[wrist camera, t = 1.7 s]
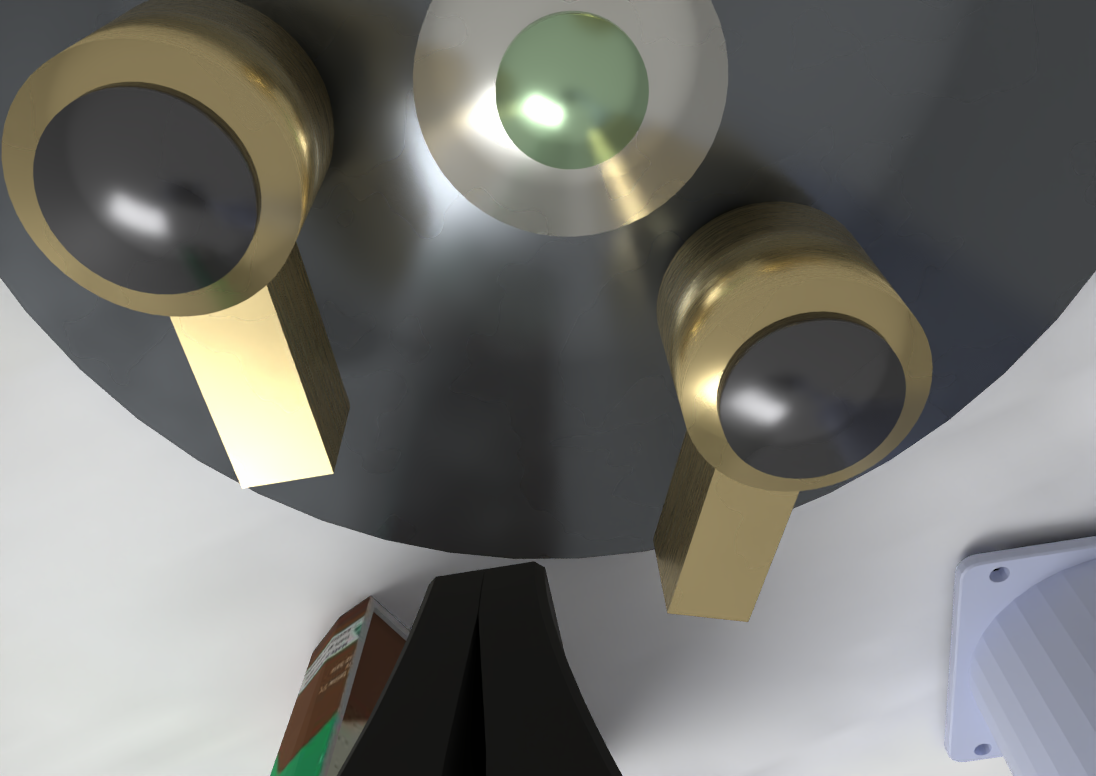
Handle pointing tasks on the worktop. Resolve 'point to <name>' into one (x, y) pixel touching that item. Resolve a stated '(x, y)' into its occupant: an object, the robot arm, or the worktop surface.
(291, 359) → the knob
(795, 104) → the tribrach plate
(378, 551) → the worktop surface
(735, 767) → the worktop surface
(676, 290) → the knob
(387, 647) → the food container
